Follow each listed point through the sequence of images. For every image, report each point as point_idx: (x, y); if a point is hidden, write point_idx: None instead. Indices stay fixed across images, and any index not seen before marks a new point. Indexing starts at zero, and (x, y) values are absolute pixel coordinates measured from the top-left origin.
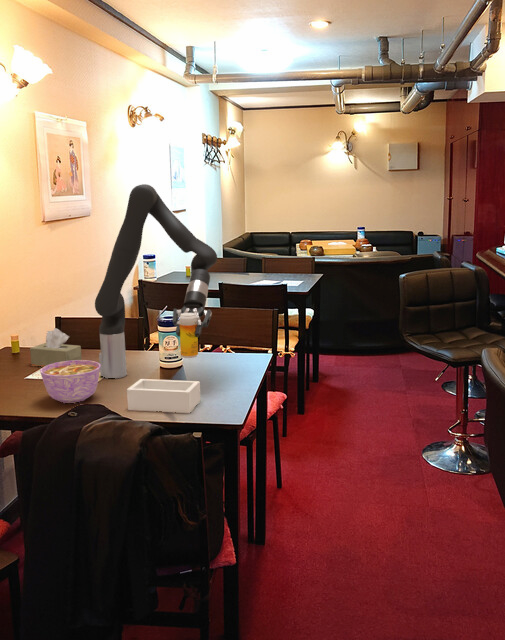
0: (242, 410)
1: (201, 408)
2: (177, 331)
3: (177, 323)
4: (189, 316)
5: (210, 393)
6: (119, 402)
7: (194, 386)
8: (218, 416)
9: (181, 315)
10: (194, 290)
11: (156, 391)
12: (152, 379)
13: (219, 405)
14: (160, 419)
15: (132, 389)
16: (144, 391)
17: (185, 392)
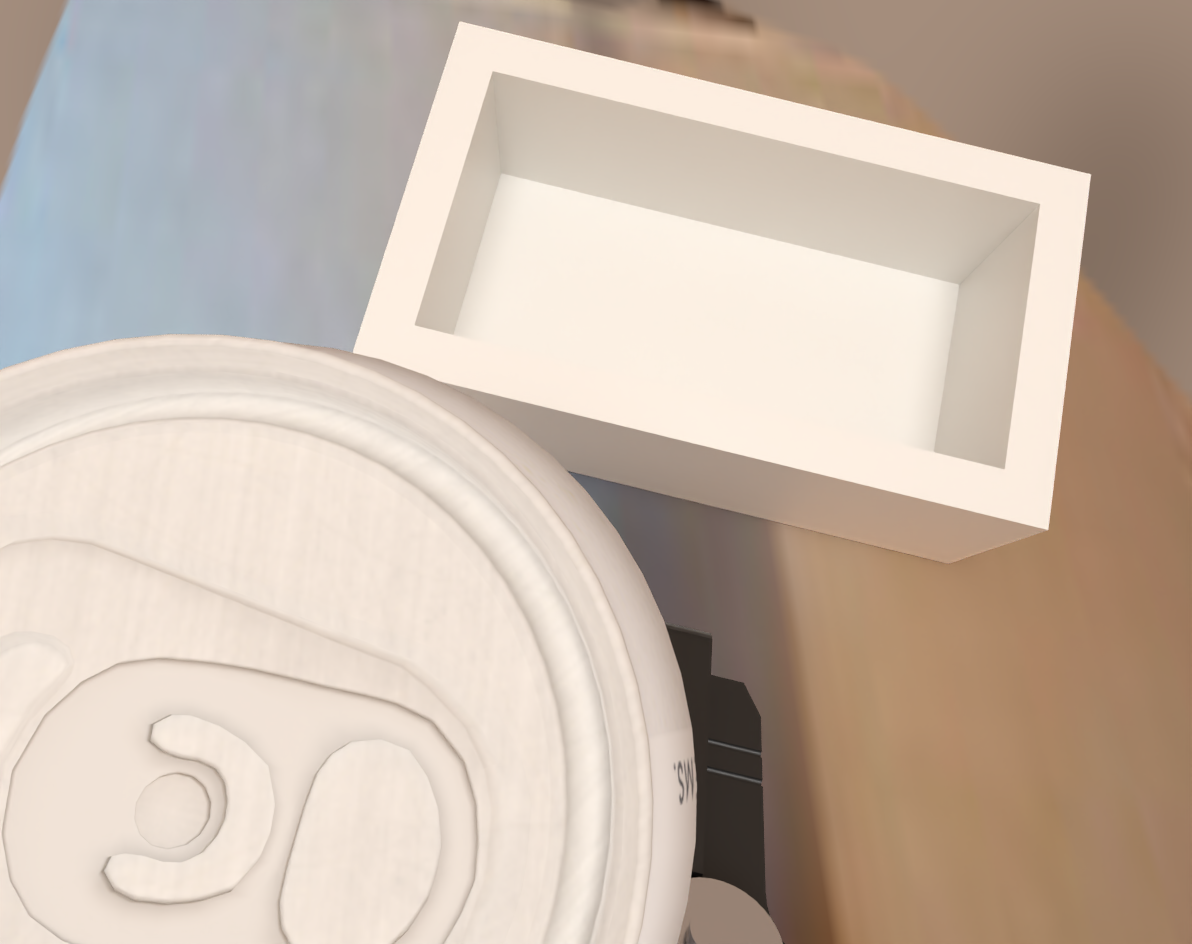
0: (33, 164)
1: (380, 246)
2: (698, 664)
3: (758, 916)
4: (107, 352)
5: None
6: (1121, 472)
7: (407, 188)
8: (246, 59)
9: (565, 532)
10: None
11: (783, 104)
12: (904, 492)
13: (219, 303)
14: (692, 49)
15: (1033, 166)
16: (903, 137)
17: (493, 32)
